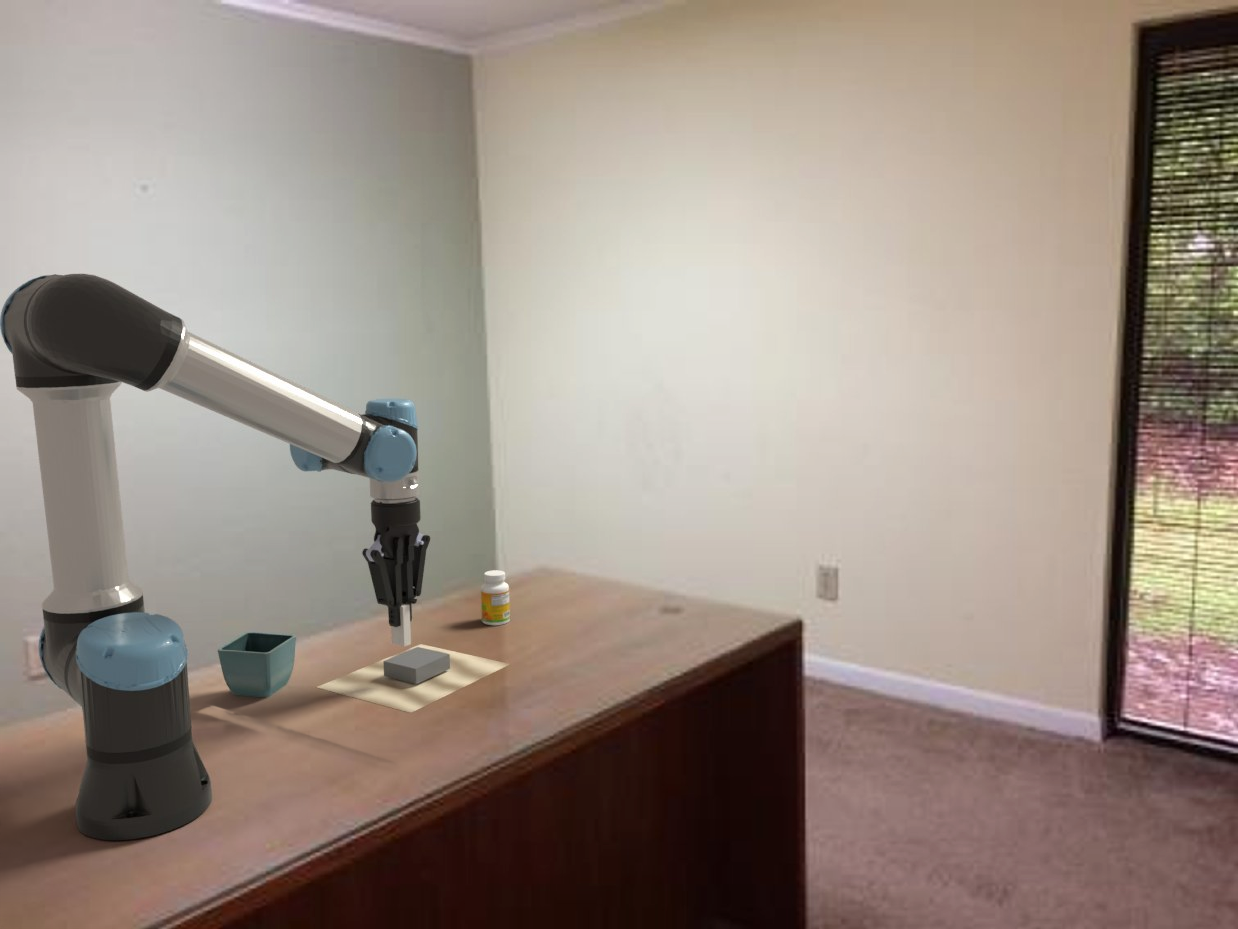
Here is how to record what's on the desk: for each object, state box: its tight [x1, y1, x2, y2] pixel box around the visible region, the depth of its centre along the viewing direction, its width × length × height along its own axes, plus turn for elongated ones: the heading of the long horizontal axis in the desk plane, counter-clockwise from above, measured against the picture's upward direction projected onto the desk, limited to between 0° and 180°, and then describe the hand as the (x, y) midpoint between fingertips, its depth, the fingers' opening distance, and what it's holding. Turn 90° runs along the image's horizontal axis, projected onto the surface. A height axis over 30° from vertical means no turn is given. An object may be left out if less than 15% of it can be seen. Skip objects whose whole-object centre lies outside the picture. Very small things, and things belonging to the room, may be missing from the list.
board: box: [316, 643, 511, 714], centre depth 168 cm, size 24×20×1 cm
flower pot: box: [217, 631, 297, 698], centre depth 162 cm, size 9×9×9 cm
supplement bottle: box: [480, 569, 511, 626], centre depth 199 cm, size 5×5×10 cm
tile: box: [383, 647, 450, 684], centre depth 168 cm, size 3×7×8 cm
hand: (401, 643), depth 165 cm, fingers closed
